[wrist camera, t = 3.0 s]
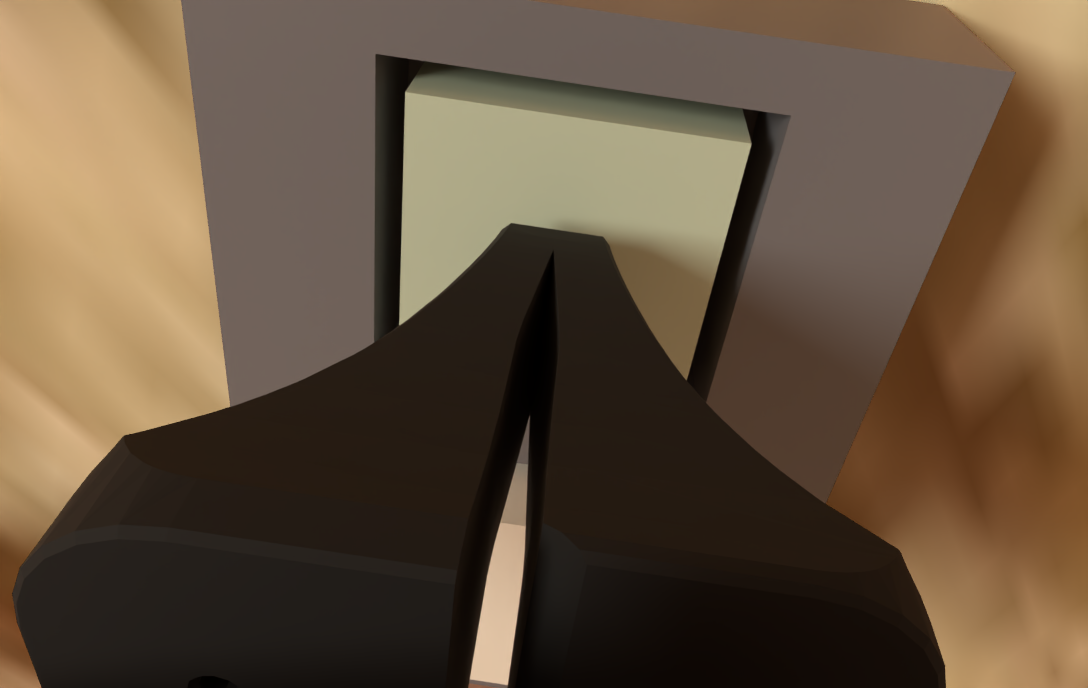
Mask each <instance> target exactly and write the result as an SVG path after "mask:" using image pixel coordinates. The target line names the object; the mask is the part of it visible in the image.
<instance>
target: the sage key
mask: <svg viewBox="0 0 1088 688" xmlns="http://www.w3.org/2000/svg"><path fill="white" fill-rule="evenodd" d="M751 144H752V143H751V140H750V136H749V132H748V128H747V124H746V121H745V117H744V113H743V109H742V108H736V107H730V106H723V105H716V104H709V103H703V102H696V101H689V100H683V99H676V98H669V97H662V96H656V95H649V94H642V93H636V92H629V91H622V90H615V89H609V88H602V87H595V86H589V85H582V84H575V83H568V82H562V81H555V80H548V79H541V78H535V77H528V76H521V75H515V74H508V73H501V72H494V71H488V70H481V69H474V68H468V67H461V66H454V65H447V64H441V63H434V62H427V61H425V62H424V64H423V65H422V67H421V68H420V70H419V71H418V73H417V74H416V76H415V78H414V79H413V81H412V82H411V84H410V85H409V87H408V89H407V90H406V92H405V119H404V158H403V197H402V236H401V275H400V314H399V325H401V324H402V323H404V322H405V321H406V320H408V319H409V318H410V317H412V316H413V315H414V314H415V313H417V312H418V311H419V310H420V309H422V308H423V307H424V306H425V305H426V304H428V303H429V302H430V301H431V300H433V299H434V298H435V297H436V296H438V295H439V294H440V293H441V292H442V291H444V290H445V289H446V288H447V287H448V286H449V285H450V284H451V283H452V282H453V281H454V280H455V279H456V278H457V277H459V276H460V275H461V274H462V273H463V272H464V271H465V270H466V269H467V268H468V267H469V266H470V265H471V264H472V263H473V262H474V261H475V260H476V259H477V258H478V257H479V256H480V255H481V254H482V253H483V252H484V250H485V249H486V248H487V247H488V246H489V245H490V244H491V243H492V241H493V240H494V239H495V238H496V237H497V235H498V234H499V233H500V231H501V230H502V229H503V228H505V227H506V226H508V225H509V224H511V223H515V224H522V225H529V226H535V227H542V228H549V229H556V230H562V231H569V232H576V233H583V234H589V235H596V236H603V237H604V238H605V240H606V241H607V243H608V244H609V245H610V248H611V251H612V254H613V257H614V260H615V262H616V264H617V267H618V269H619V271H620V274H621V276H622V278H623V280H624V282H625V284H626V286H627V288H628V290H629V292H630V294H631V296H632V298H633V300H634V302H635V303H636V305H637V307H638V309H639V310H640V312H641V314H642V316H643V317H644V319H645V321H646V323H647V324H648V326H649V328H650V329H651V331H652V333H653V334H654V336H655V337H656V339H657V340H658V342H659V343H660V345H661V346H662V348H663V349H664V351H665V352H666V354H667V355H668V357H669V358H670V359H671V361H672V362H673V364H674V365H675V366H676V368H677V369H678V370H679V372H680V373H681V374H682V376H683V377H684V378H685V379H686V380H687V377H688V374H689V370H690V367H691V363H692V359H693V356H694V352H695V348H696V345H697V341H698V337H699V334H700V330H701V326H702V323H703V319H704V315H705V312H706V308H707V305H708V301H709V297H710V294H711V290H712V286H713V283H714V279H715V275H716V272H717V268H718V264H719V261H720V257H721V253H722V250H723V246H724V242H725V239H726V235H727V232H728V228H729V224H730V221H731V217H732V213H733V210H734V206H735V202H736V199H737V195H738V191H739V188H740V184H741V180H742V177H743V173H744V169H745V166H746V162H747V159H748V155H749V151H750V148H751Z"/></svg>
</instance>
